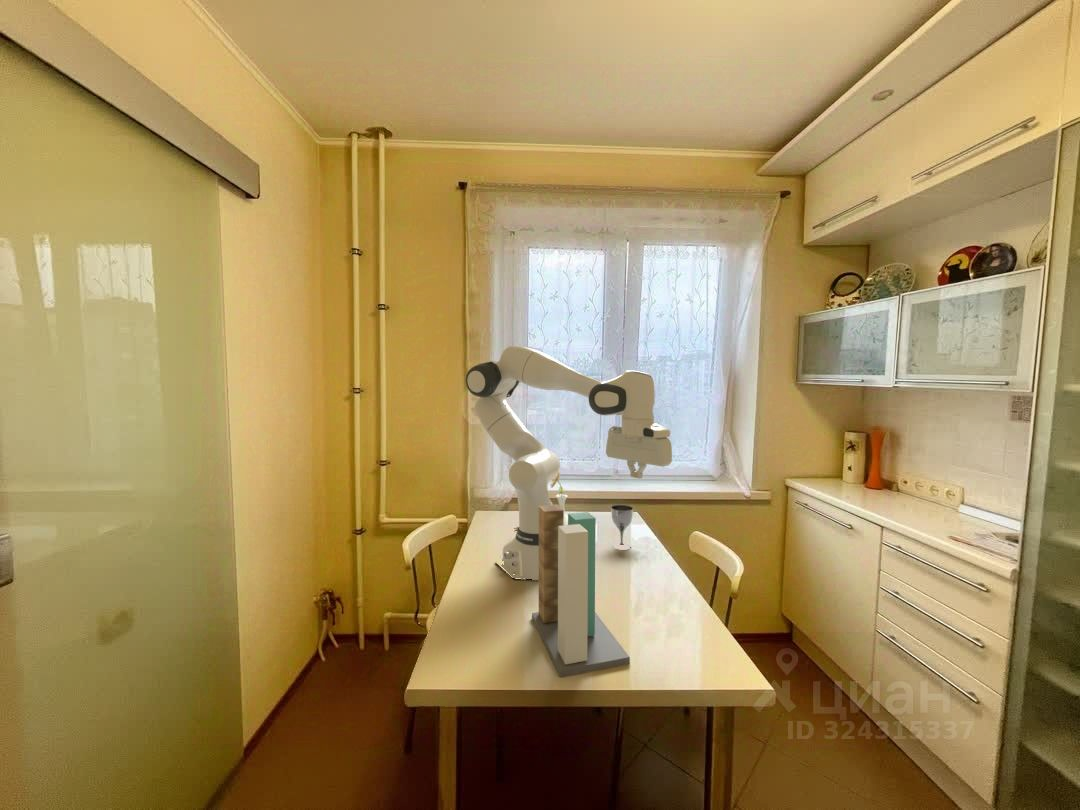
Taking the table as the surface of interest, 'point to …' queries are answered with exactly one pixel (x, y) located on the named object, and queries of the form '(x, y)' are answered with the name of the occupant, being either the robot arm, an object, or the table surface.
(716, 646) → the table surface
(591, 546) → the teal post
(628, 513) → the wine glass
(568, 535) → the cream post
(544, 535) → the walnut post
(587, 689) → the table surface
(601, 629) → the board
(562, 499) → the flower in vase
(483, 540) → the table surface
